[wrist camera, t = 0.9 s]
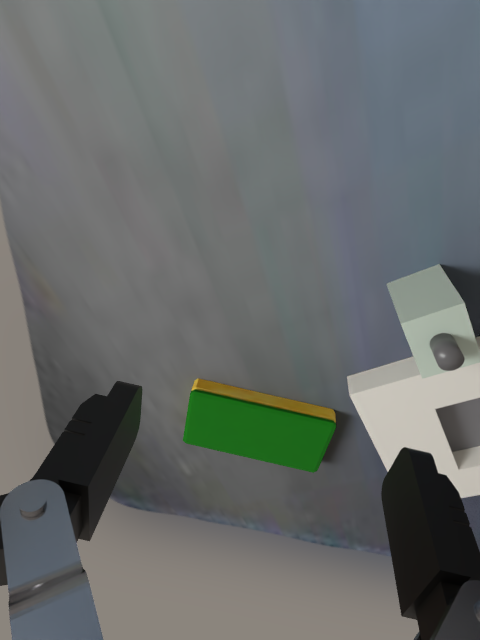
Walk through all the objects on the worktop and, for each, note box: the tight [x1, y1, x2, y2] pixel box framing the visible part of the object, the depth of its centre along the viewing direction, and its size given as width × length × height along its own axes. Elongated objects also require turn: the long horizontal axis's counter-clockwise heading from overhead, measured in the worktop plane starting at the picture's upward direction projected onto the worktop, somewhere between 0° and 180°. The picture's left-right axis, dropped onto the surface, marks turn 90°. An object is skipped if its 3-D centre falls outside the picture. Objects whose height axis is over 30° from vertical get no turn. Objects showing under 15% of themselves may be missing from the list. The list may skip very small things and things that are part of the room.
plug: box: [387, 264, 480, 379], centre depth 30 cm, size 4×5×8 cm
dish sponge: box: [183, 379, 336, 472], centre depth 42 cm, size 7×14×2 cm, turn 79°
